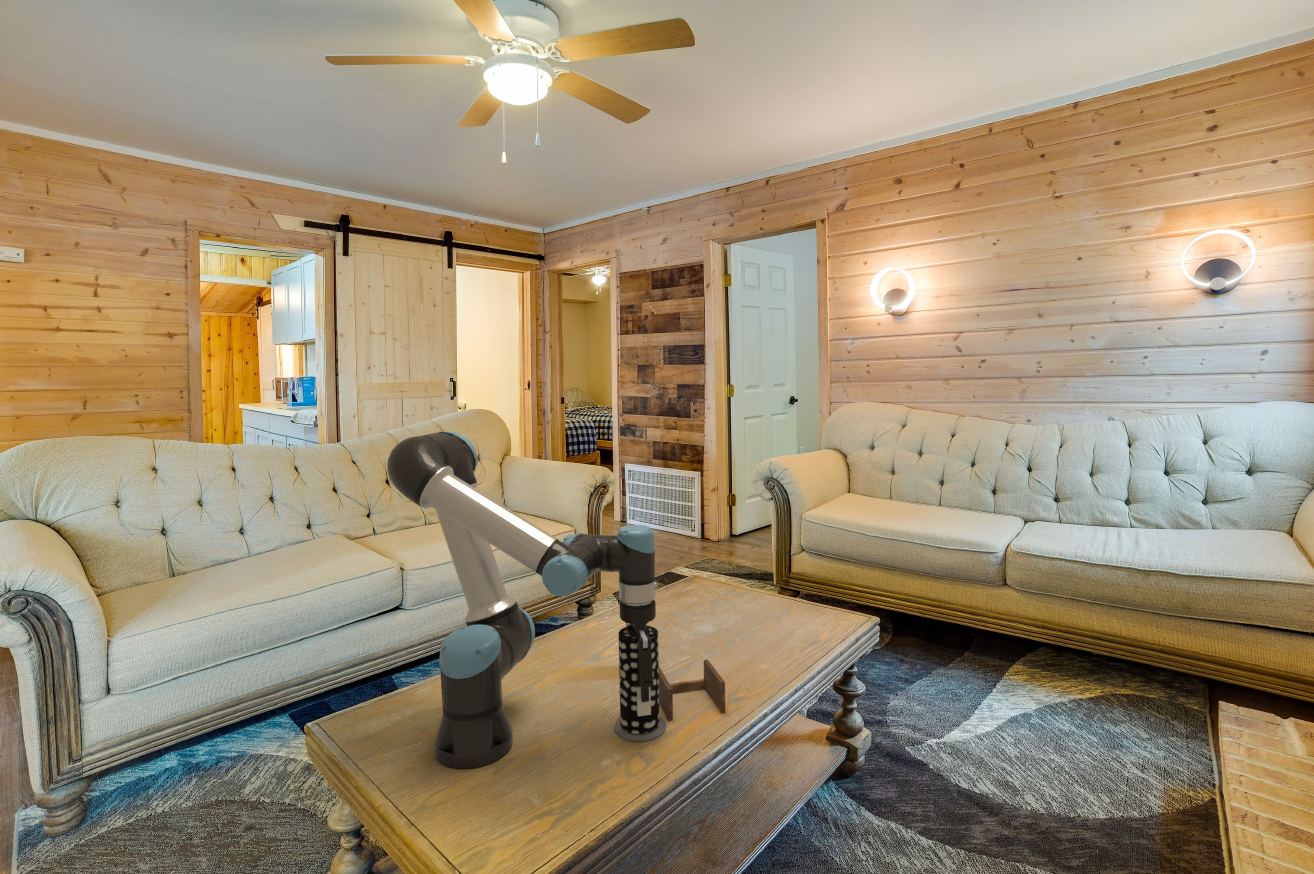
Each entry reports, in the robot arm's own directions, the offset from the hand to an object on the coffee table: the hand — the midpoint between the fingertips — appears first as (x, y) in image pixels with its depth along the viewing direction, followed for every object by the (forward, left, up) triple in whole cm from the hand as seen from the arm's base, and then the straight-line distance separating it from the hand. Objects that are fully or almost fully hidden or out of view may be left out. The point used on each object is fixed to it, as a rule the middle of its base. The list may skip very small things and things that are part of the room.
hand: (639, 703), depth 139 cm
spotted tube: (0, 0, -5) cm, 5 cm away
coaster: (0, 0, -5) cm, 5 cm away
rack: (+13, +7, -5) cm, 16 cm away
